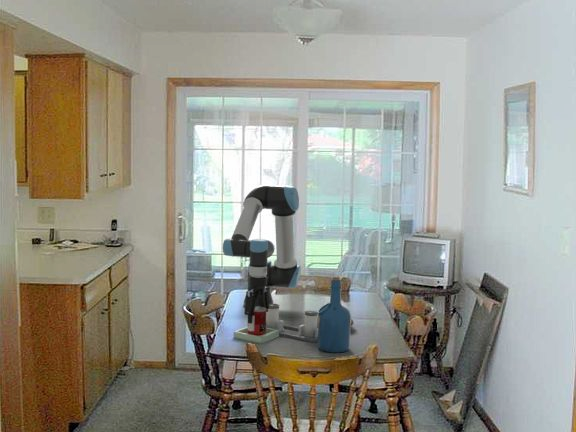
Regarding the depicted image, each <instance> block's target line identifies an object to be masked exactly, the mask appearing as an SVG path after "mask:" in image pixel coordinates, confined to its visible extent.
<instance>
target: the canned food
mask: <svg viewBox="0 0 576 432" xmlns="http://www.w3.org/2000/svg"><path fill="white" fill-rule="evenodd" d="M253 316H255V318H254V331H250V330H248V328H247V332H248V334H251V335H256V336H261V335H264V334H265V333H266V308H265V307H260V306H255V310H254V314H253Z"/></svg>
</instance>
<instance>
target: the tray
mask: <svg viewBox="0 0 576 432" xmlns="http://www.w3.org/2000/svg"><path fill="white" fill-rule="evenodd" d="M247 328H248V326H246V327H242V328H240V329H238V330H234V331H233V334H232V335H233V339H235V340H241V341H244V342H250V343H254V344H259V345H262V344H264V343H267V342H269V341H271V340H274V339H277V338H278V337H280V336H279V330H275V329H270V328H266V333H265V334H264V335H261V336H256V335H251V334H248V332H247Z"/></svg>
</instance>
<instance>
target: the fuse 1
mask: <svg viewBox="0 0 576 432" xmlns="http://www.w3.org/2000/svg"><path fill="white" fill-rule="evenodd" d="M267 310H268V312H266V328H270V329H275V330H277V322H278V321H280V320H279V317H280V304H278V303H273V304H269V309H267Z"/></svg>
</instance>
